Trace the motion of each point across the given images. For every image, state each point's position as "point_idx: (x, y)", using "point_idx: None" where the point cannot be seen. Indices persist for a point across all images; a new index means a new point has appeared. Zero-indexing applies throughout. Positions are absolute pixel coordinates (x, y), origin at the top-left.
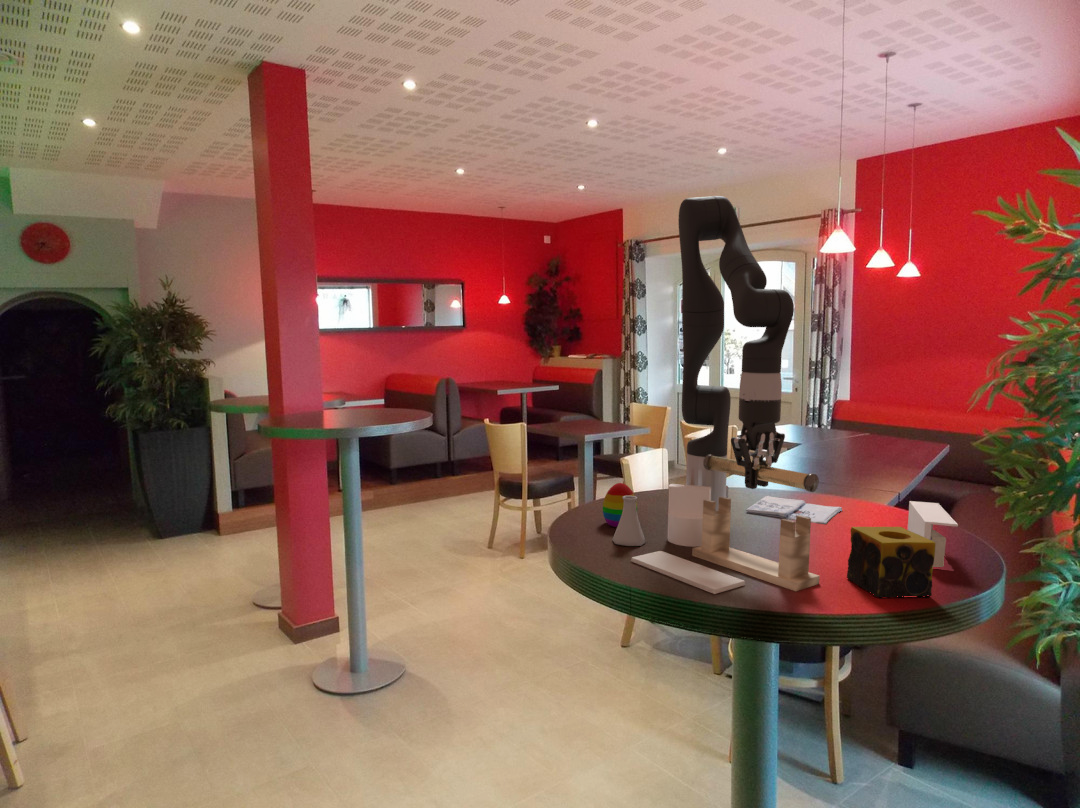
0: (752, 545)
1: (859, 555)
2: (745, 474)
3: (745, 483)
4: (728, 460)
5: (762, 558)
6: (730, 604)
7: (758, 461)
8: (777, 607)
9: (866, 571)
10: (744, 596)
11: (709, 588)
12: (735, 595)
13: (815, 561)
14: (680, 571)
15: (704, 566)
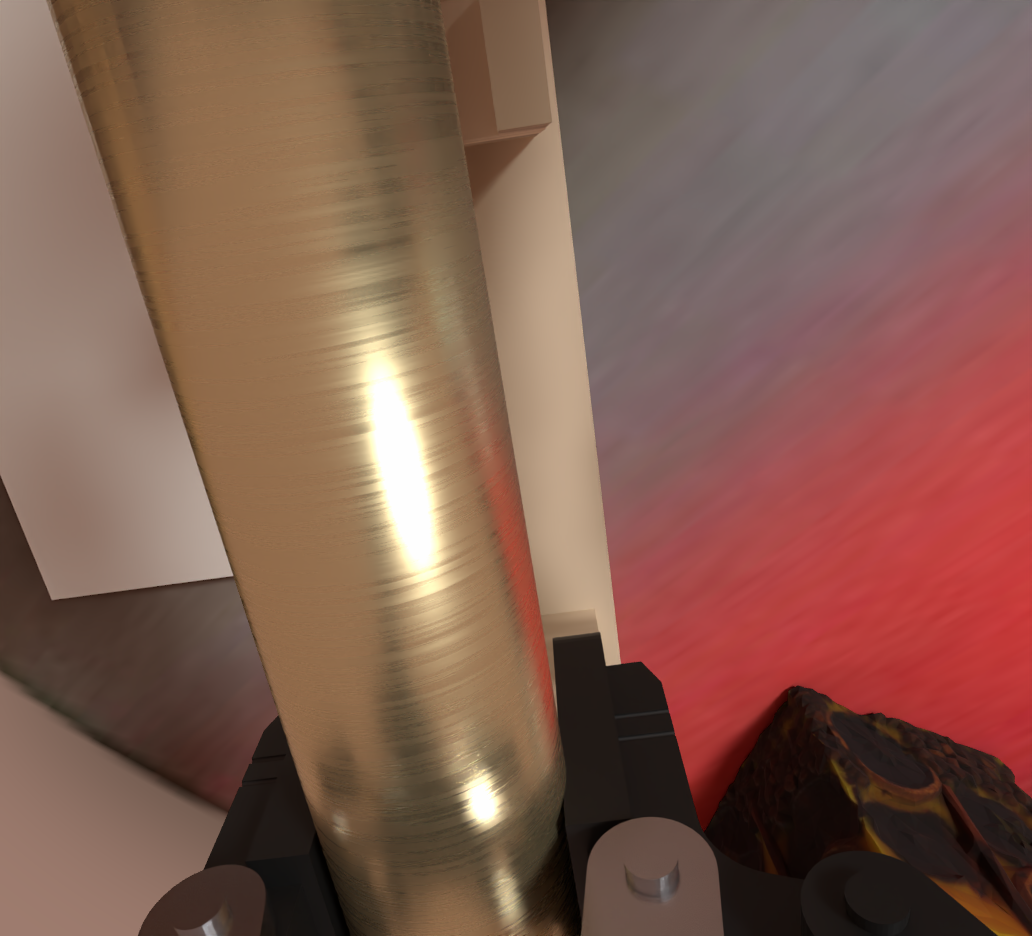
0: (873, 6)
1: (823, 843)
2: (227, 828)
3: (274, 731)
4: (216, 366)
5: (576, 398)
6: (71, 692)
7: (586, 921)
8: (242, 778)
9: (759, 853)
10: (185, 654)
11: (43, 568)
12: (152, 632)
13: (914, 449)
14: (2, 321)
15: None
